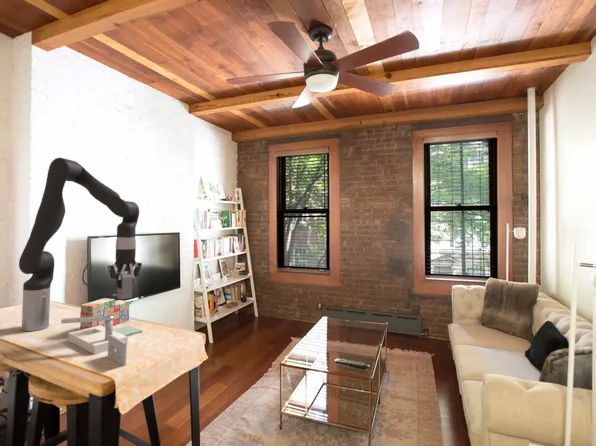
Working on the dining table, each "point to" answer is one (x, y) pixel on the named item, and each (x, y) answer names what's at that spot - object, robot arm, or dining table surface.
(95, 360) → the dining table surface
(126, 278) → the plug
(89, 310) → the stack of blocks
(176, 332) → the dining table surface
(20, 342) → the dining table surface
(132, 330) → the mat
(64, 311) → the dining table surface
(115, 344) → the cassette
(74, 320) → the clip
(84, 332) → the socket block
